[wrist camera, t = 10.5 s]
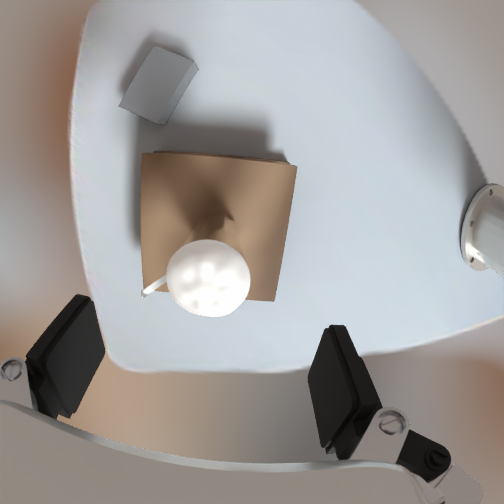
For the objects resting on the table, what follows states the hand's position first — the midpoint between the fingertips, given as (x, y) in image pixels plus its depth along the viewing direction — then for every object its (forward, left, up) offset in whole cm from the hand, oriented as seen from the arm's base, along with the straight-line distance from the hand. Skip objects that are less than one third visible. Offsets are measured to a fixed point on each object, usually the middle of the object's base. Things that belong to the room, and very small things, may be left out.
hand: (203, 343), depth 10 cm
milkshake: (+1, 0, -13) cm, 13 cm away
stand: (+1, 0, -17) cm, 17 cm away
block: (+7, -12, -17) cm, 22 cm away
